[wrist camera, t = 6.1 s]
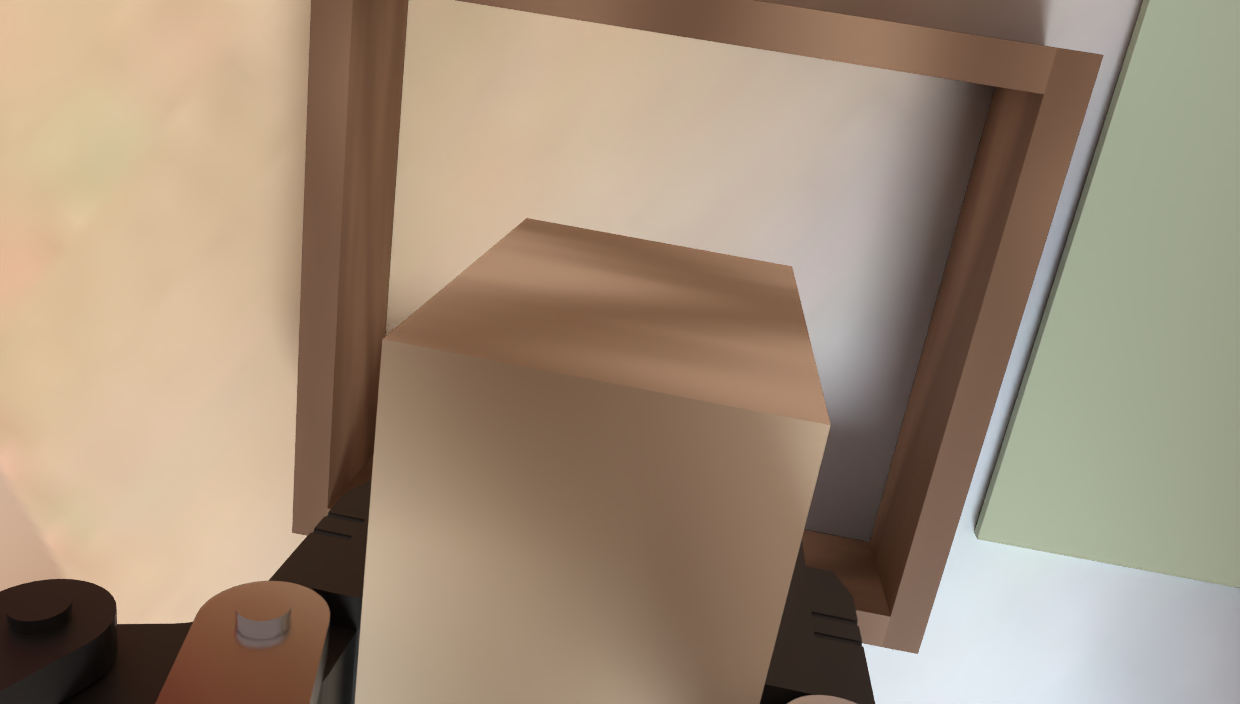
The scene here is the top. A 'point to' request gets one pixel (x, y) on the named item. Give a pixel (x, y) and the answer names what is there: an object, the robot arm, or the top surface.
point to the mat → (1142, 326)
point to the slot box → (728, 13)
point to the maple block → (589, 477)
